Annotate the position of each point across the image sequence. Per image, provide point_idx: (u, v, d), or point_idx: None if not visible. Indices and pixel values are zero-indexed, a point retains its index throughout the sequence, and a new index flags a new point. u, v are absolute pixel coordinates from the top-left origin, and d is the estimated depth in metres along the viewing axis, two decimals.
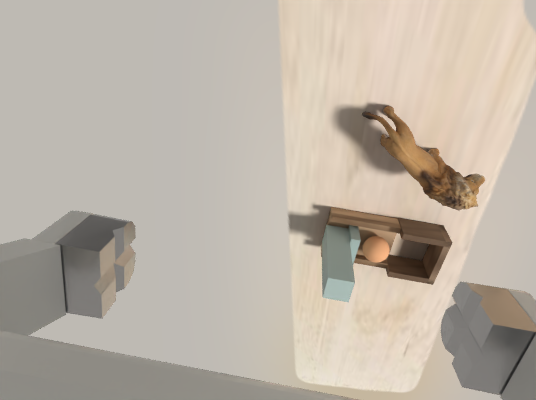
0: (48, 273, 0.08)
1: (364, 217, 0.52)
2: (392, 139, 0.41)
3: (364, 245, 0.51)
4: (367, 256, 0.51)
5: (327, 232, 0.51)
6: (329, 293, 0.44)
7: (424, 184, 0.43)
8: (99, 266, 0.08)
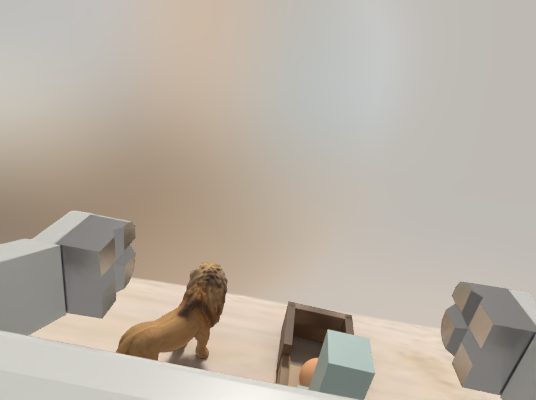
0: (48, 273, 0.08)
1: None
2: (127, 345, 0.31)
3: None
4: None
5: None
6: (361, 362, 0.25)
7: (197, 313, 0.35)
8: (99, 266, 0.08)
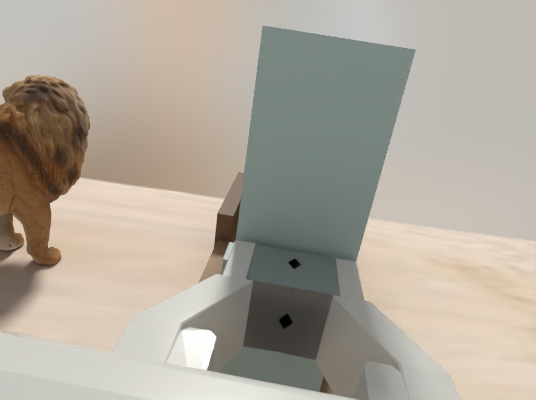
0: (241, 309, 0.08)
1: None
2: None
3: None
4: None
5: None
6: None
7: (0, 151, 0.17)
8: (288, 301, 0.08)
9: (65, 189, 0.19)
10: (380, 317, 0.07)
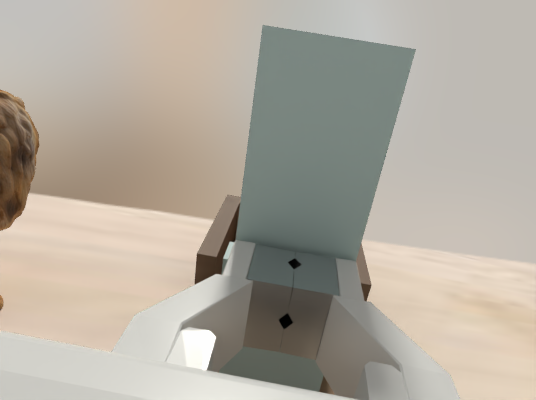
0: (241, 309, 0.08)
1: None
2: None
3: None
4: None
5: None
6: None
7: None
8: (288, 301, 0.08)
9: (3, 225, 0.15)
10: (380, 317, 0.07)
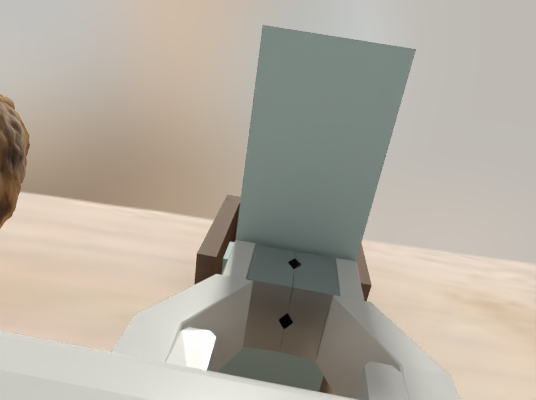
0: (241, 309, 0.08)
1: None
2: None
3: None
4: None
5: None
6: None
7: None
8: (288, 301, 0.08)
9: None
10: (380, 317, 0.07)
